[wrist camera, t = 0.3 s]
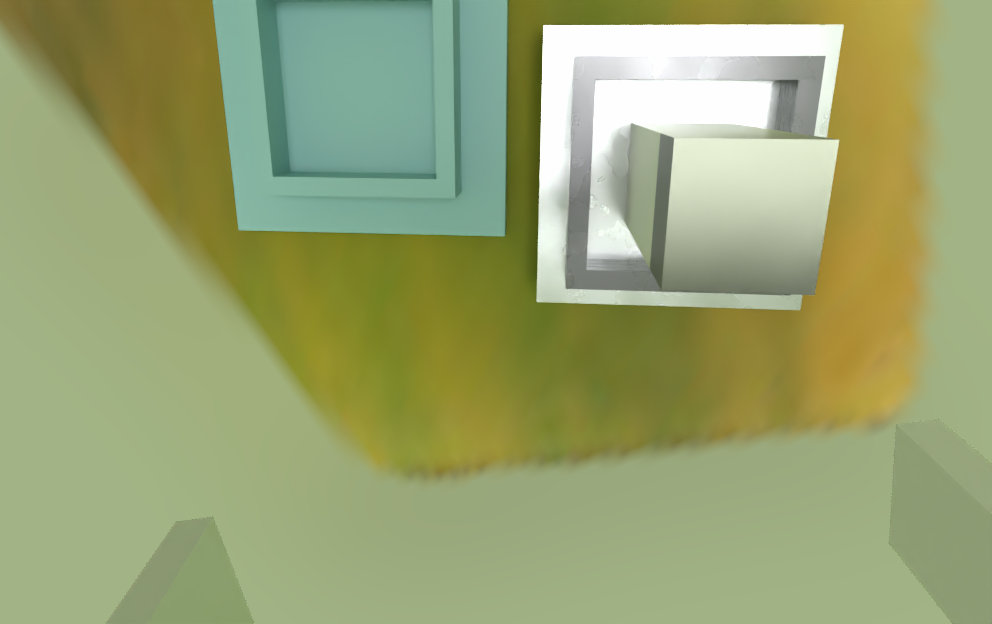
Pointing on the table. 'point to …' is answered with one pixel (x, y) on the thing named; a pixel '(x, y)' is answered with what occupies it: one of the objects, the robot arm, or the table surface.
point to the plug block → (729, 206)
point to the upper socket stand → (656, 99)
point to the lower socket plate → (366, 114)
